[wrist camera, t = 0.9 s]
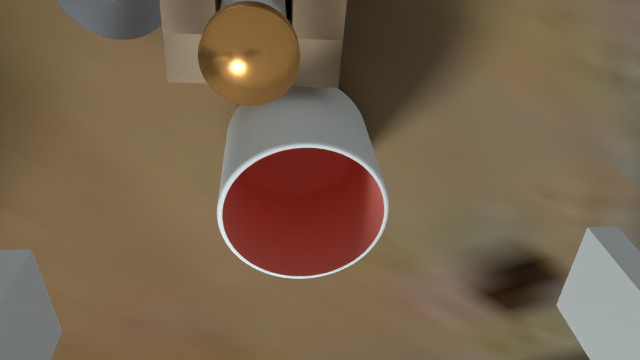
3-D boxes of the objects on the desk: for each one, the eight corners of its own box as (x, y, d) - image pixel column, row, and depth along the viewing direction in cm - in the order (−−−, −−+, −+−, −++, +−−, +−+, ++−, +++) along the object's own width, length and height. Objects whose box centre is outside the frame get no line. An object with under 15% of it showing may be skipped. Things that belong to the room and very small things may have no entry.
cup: (251, 201, 42) (247, 294, 33) (208, 89, 36) (190, 167, 28) (373, 173, 41) (400, 259, 33) (349, 54, 35) (374, 123, 27)
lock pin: (224, 7, 33) (200, 104, 21) (222, -61, 31) (194, 5, 19) (287, 10, 33) (298, 107, 22) (290, -57, 31) (302, 10, 20)
